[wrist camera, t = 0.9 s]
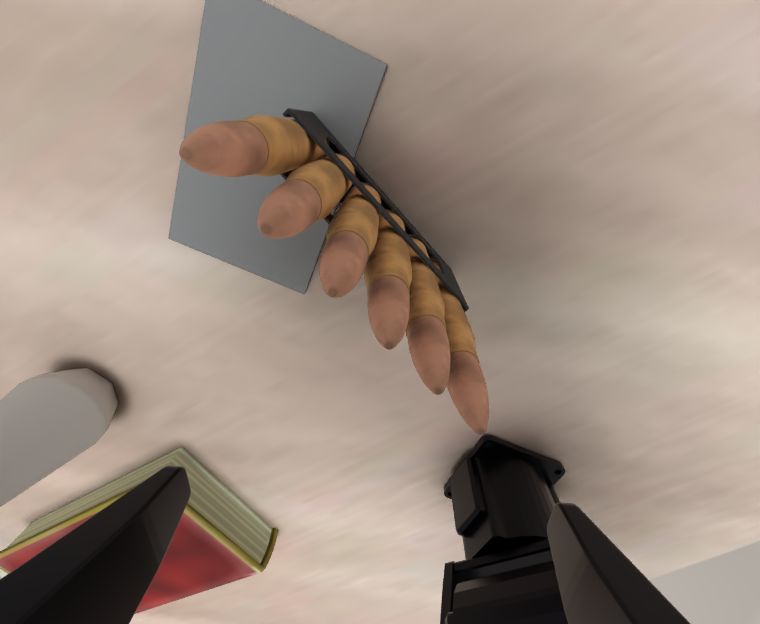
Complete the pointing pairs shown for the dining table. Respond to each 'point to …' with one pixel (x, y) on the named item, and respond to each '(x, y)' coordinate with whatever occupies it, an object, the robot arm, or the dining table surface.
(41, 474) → the salt shaker
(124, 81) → the dining table surface
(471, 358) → the ammunition clip
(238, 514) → the hardcover book
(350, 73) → the mat
